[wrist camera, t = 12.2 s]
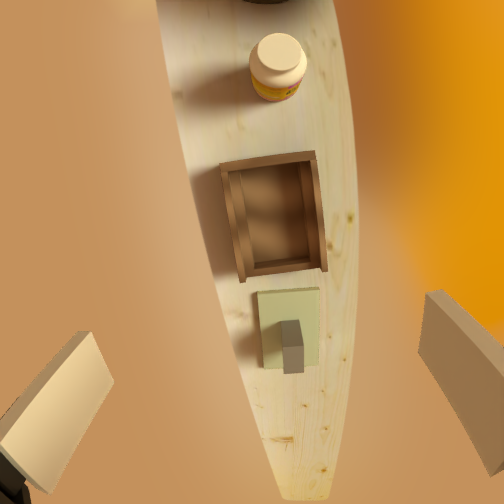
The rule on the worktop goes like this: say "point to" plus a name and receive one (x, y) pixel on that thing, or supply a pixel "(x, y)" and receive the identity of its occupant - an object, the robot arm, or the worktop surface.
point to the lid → (290, 328)
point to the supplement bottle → (277, 67)
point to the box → (275, 214)
